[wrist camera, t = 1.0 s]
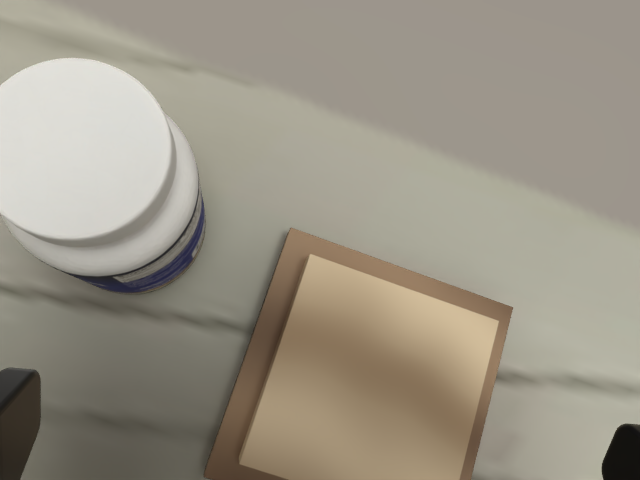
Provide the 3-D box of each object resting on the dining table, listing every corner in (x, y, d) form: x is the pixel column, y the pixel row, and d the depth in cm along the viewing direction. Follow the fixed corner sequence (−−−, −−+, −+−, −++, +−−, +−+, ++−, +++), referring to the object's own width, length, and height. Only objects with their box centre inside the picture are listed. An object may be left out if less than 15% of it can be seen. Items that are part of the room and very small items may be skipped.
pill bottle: (32, 215, 23) (-109, 119, 13) (149, 134, 24) (98, -6, 15) (121, 326, 23) (44, 309, 13) (234, 238, 24) (240, 164, 14)
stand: (440, 544, 23) (464, 566, 21) (204, 470, 22) (202, 484, 20) (500, 309, 25) (527, 305, 23) (287, 233, 24) (294, 221, 22)
